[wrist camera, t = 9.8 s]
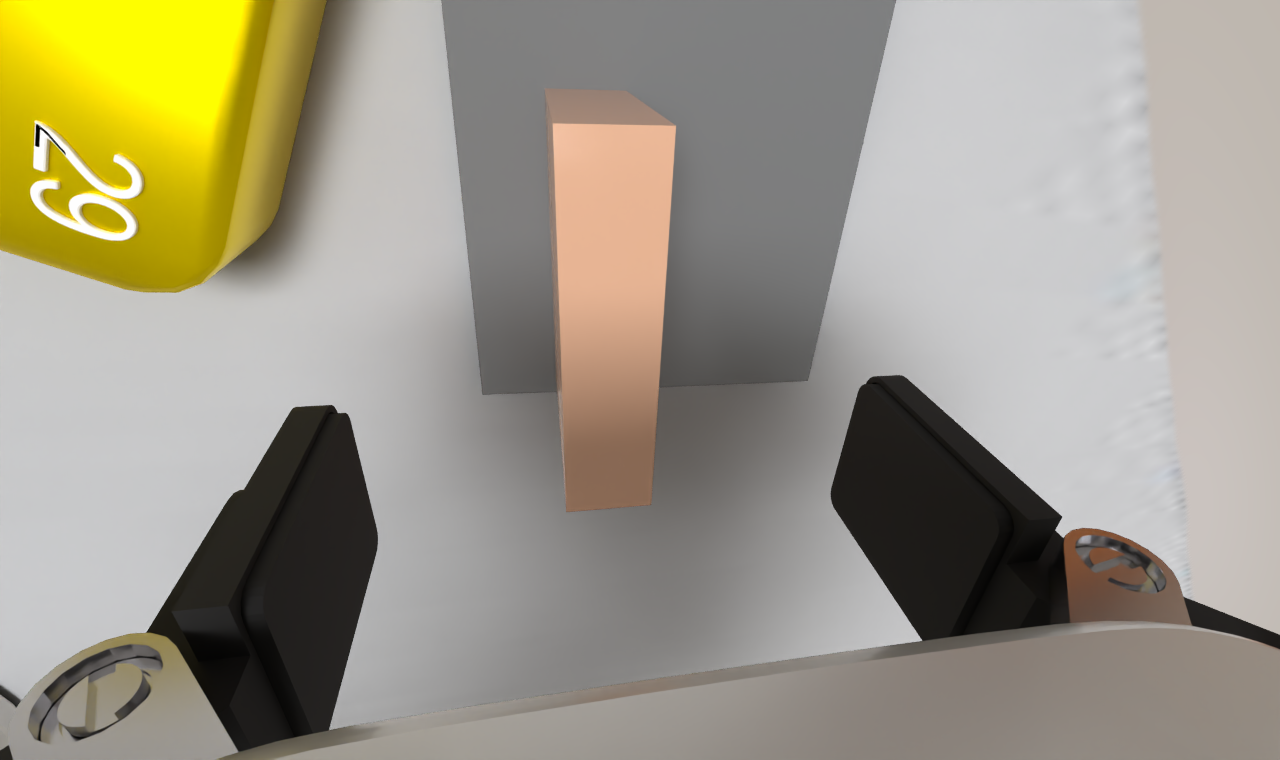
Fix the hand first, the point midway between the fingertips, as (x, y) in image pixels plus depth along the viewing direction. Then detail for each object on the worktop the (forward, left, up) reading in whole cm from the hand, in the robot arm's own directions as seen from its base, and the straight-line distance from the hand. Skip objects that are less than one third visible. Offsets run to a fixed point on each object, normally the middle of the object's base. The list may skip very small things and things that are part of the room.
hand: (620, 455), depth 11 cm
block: (0, 0, -11) cm, 11 cm away
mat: (+3, -3, -11) cm, 12 cm away
